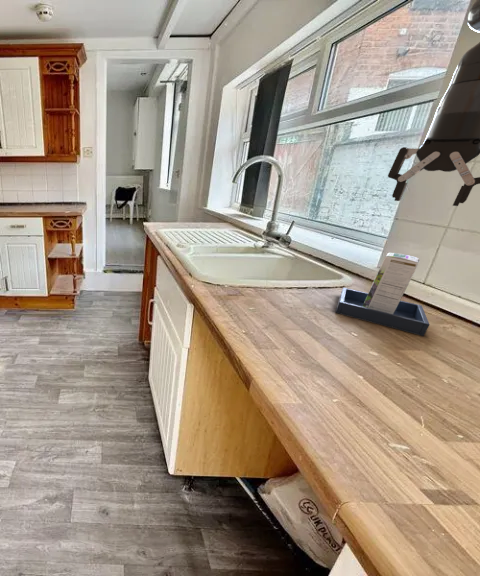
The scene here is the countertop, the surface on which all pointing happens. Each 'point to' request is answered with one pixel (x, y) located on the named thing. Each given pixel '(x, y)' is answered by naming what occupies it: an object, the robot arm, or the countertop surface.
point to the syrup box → (391, 282)
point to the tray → (383, 313)
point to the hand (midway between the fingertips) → (424, 203)
